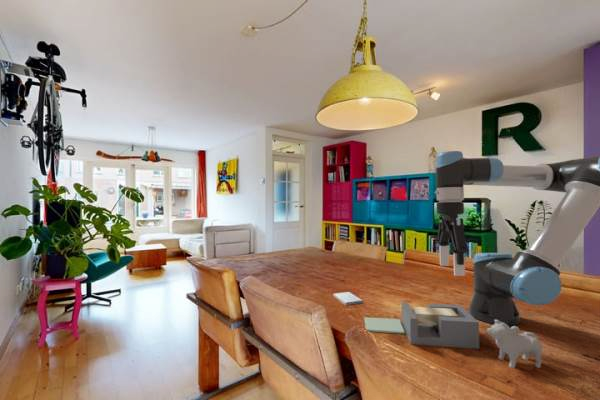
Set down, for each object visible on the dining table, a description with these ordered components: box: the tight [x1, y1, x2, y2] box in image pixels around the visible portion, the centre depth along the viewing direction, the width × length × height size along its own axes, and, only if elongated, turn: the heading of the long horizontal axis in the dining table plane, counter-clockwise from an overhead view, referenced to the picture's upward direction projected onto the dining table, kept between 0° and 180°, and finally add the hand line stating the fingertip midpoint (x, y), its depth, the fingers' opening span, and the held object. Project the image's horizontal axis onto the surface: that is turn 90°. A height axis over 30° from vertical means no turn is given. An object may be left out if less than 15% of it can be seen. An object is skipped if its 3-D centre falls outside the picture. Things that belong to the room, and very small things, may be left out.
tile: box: [411, 306, 459, 325], centre depth 89 cm, size 12×6×3 cm, turn 80°
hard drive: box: [332, 291, 364, 306], centre depth 123 cm, size 2×8×12 cm
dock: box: [401, 301, 480, 350], centre depth 89 cm, size 18×14×8 cm
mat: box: [363, 316, 406, 335], centre depth 96 cm, size 12×10×1 cm
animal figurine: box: [486, 320, 543, 369], centre depth 74 cm, size 5×13×10 cm, turn 91°
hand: (451, 270), depth 88 cm, fingers open, 12 cm apart
